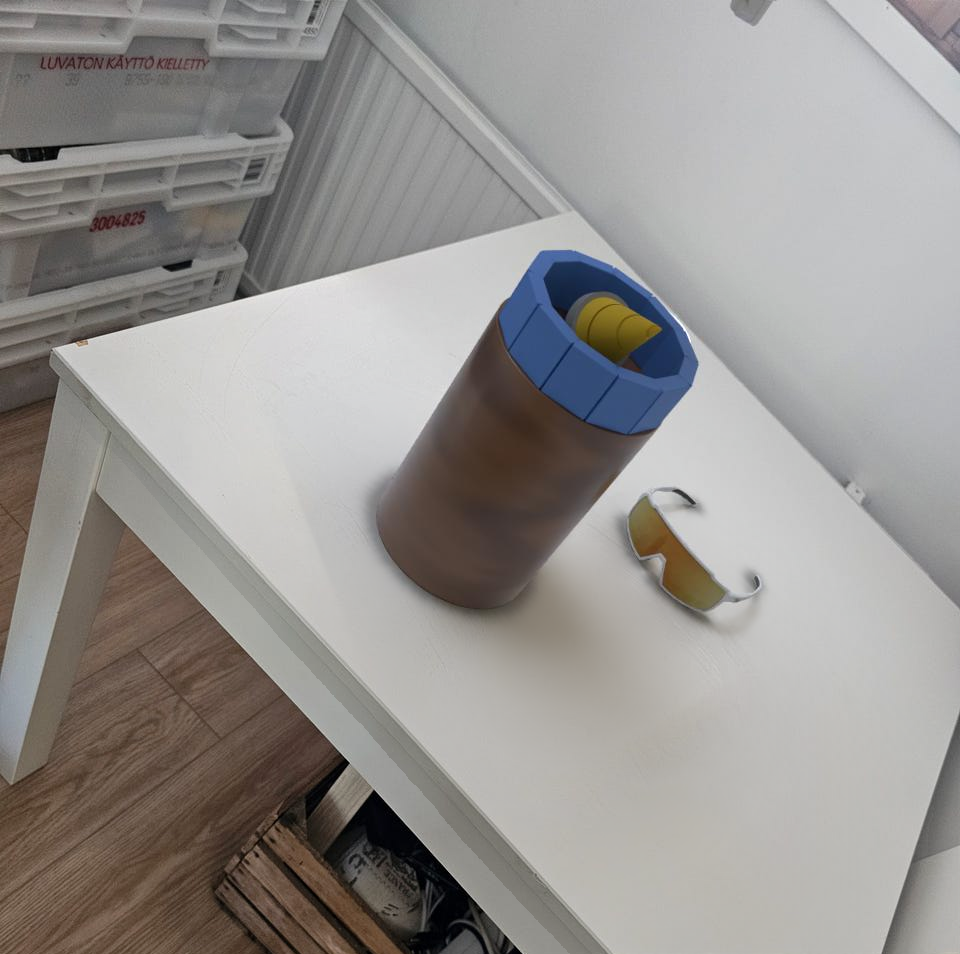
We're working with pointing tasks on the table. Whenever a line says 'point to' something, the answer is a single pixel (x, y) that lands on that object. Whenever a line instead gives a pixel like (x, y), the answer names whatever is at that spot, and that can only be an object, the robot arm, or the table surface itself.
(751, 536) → the table surface
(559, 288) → the blue segmented ring
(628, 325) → the yellow tiered cone
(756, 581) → the sunglasses
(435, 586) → the stand
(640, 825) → the table surface
